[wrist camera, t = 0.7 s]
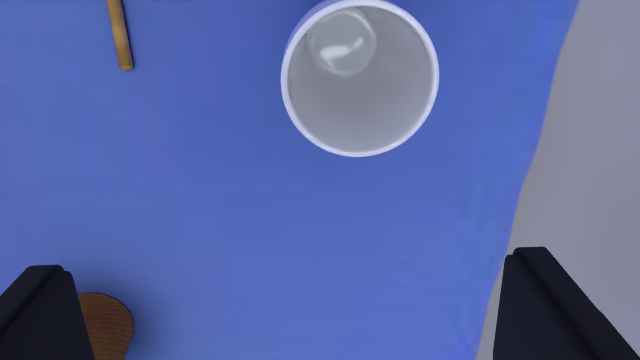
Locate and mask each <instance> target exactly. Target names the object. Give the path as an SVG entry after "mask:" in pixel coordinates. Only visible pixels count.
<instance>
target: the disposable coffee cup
mask: <svg viewBox="0 0 640 360" xmlns="http://www.w3.org/2000/svg"><path fill="white" fill-rule="evenodd" d="M78 298H79V302H80V306H81V309H82V313H83V317H84V320H85V324H86V328H87V331H88V335H89V339H90V342H91V346H92V350H93V353H94V357H95V360H125V356H126V353H127V349H128V347H129V344H130V340H131V337H132V334H133V331H134V323H133V319H132V316H131V314H130V313H129V311H128V310H127V309H126V308H125V307H124V306H123V305H122V304H121V303H120V302H119V301H117V300H116V299H114V298H112V297H109V296H107V295H104V294H98V293H84V294H80V295H78Z"/></svg>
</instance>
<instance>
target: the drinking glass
mask: <svg viewBox="0 0 640 360" xmlns="http://www.w3.org/2000/svg"><path fill="white" fill-rule="evenodd" d="M438 85H439V65H438V58H437V55H436V51H435V48H434V45H433V43H432V41H431V39H430V37H429V35H428V34H427V32H426V31H425V29H424V28H423V27H422V25H421V24H420V23H419V22H418V21H417V20H416V19H415V18H414V17H413V16H411V15H410V14H409V13H408V12H406V11H405V10H404V9H402V8H401V7H399V6H398V5H396V4H395V3H393V2H391V1H389V0H323V1H321V2H320V3H318V4H316V5H315V6H314V7H312V8H311V9H310V10H309V11H308V12H306V13H305V14H304V15H303V17H302V18H301V19H300V20H299V21H298V23H297V24H296V26H295V27H294V29H293V31H292V32H291V34H290V36H289V39H288V41H287V44H286V47H285V50H284V54H283V59H282V66H281V91H282V97H283V101H284V105H285V107H286V110H287V112H288V114H289V116H290V118H291V120H292V121H293V123H294V125H295V126H296V127H297V128H298V130H299V131H300V132H301V133H302V134H303V135H304V136H305V137H306V138H307V139H308V140H310V141H311V142H312V143H314V144H315V145H317V146H318V147H320V148H322V149H324V150H326V151H329V152H331V153H334V154H338V155H342V156H349V157H366V156H373V155H377V154H381V153H384V152H387V151H389V150H391V149H393V148H395V147H397V146H399V145H400V144H402V143H403V142H405V141H406V140H407V139H409V138H410V137H411V136H412V135H413V134H414V133H415V132H416V131H417V130H418V129H419V128H420V127H421V126H422V124H423V123H424V121H425V120H426V119H427V117H428V115H429V113H430V111H431V109H432V107H433V105H434V102H435V99H436V96H437V92H438Z"/></svg>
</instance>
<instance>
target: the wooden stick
mask: <svg viewBox="0 0 640 360" xmlns="http://www.w3.org/2000/svg"><path fill="white" fill-rule="evenodd" d="M106 2H107V7H108V12H109V17H110V22H111V27H112V32H113V37H114V42H115V47H116V52H117V57H118V62H119V67H120V68H121V70H123V71H126V72H128V71H130V70H131V69H132V68H133V62H132V57H131V52H130V46H129V41H128V36H127V31H126V25H125V20H124V15H123V10H122V4H121V0H106Z"/></svg>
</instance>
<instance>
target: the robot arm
mask: <svg viewBox="0 0 640 360" xmlns="http://www.w3.org/2000/svg"><path fill="white" fill-rule="evenodd" d="M0 360H95V357H94V353H93V350H92V346H91V342H90V339H89V335H88V331H87V328H86V324H85V320H84V317H83V313H82V309H81V306H80V302H79V298H78V295H77V291H76V287H75V284H74V280H73V277H72V274H71V273H70V272H68V271H64V269H63V268H62V266H60V265H37V266H30V267H28V268H27V269H26V270H25V271H24V272H23V273H22V274H21V275H20V276H19V277H18V278H17V279H16V280H15V281H14V282H13V283H12V284H11V285H10V286H9V287H8V288H7V290H6V291H5V292H4V293H3V294H2V295H1V296H0ZM493 360H640V358H639V356H638V355H637V354H636V353H635V351H634V350H633V349H632V348H631V347H630V345H629V344H628V343H627V342H626V341H625V339H624V338H623V337H622V336H621V335H620V334H619V332H618V331H617V330H616V329H615V328H614V326H613V325H612V324H611V323H610V322H609V321H608V319H607V318H606V317H605V316H604V315H603V314H602V313H601V312H600V311H599V310H598V309H597V308H596V307H595V306H594V304H593V303H592V302H591V301H590V300H589V299H588V297H587V296H586V295H585V294H584V292H583V291H582V290H581V289H580V288H579V287H578V285H577V284H576V283H575V282H574V281H573V280H572V278H571V277H570V276H569V275H568V273H567V272H566V271H565V270H564V269H563V267H562V266H561V265H560V264H559V263H558V261H557V260H556V259H555V258H554V257H553V255H552V254H551V253H550V252H549V251H548V250H547V249H546V248H545V247H520V248H516V249H515V250H514V252H513V255H507V256H506V258H505V263H504V270H503V278H502V287H501V294H500V302H499V310H498V318H497V325H496V333H495V340H494V348H493Z"/></svg>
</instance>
